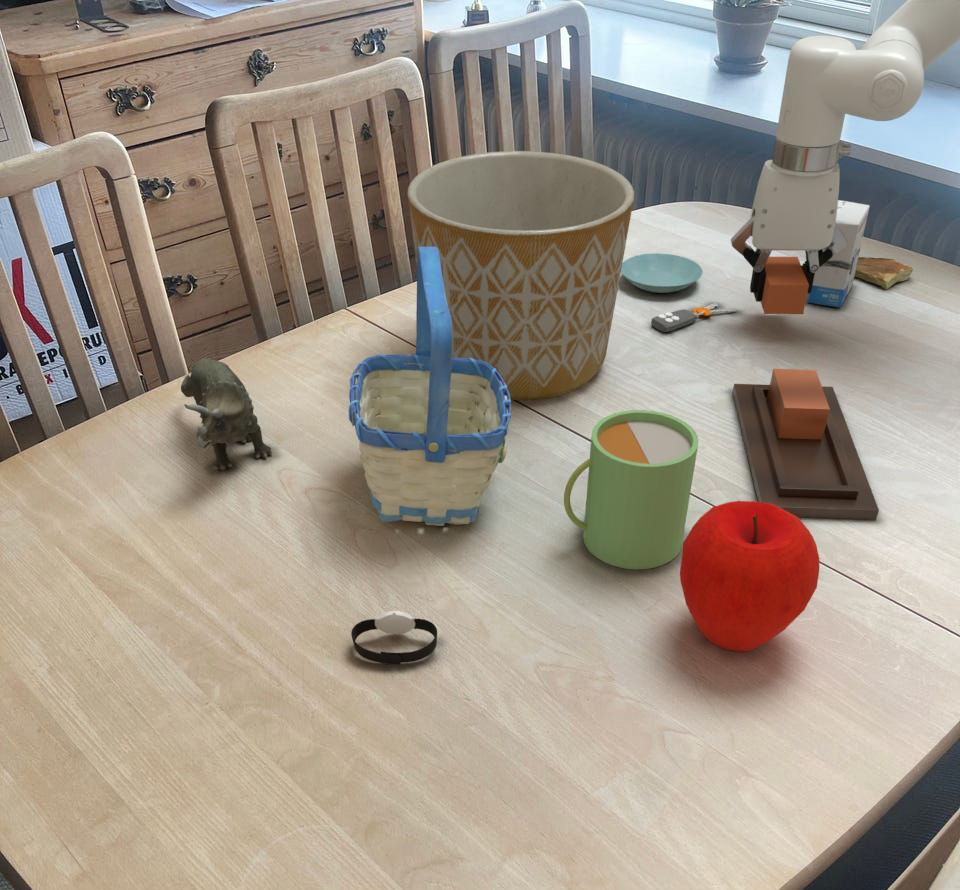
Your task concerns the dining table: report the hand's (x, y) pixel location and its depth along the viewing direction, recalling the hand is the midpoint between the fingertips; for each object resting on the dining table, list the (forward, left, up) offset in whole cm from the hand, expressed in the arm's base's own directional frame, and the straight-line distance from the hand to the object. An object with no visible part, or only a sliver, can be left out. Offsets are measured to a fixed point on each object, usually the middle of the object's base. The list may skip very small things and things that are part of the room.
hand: (779, 296), depth 139 cm
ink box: (-10, -11, -5) cm, 15 cm away
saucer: (+14, -13, -5) cm, 20 cm away
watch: (+43, +67, -5) cm, 80 cm away
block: (0, 0, 0) cm, 0 cm away
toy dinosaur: (+66, +34, -5) cm, 75 cm away
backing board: (+1, +31, -5) cm, 31 cm away
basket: (+42, +41, -5) cm, 59 cm away
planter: (+34, +12, -5) cm, 37 cm away
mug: (+22, +49, -5) cm, 54 cm away
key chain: (+10, -2, -5) cm, 12 cm away
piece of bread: (-17, -17, -5) cm, 24 cm away
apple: (+12, +63, -5) cm, 64 cm away
